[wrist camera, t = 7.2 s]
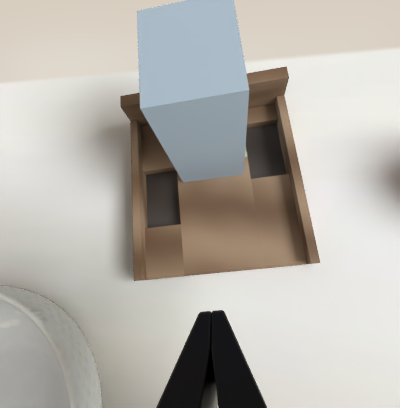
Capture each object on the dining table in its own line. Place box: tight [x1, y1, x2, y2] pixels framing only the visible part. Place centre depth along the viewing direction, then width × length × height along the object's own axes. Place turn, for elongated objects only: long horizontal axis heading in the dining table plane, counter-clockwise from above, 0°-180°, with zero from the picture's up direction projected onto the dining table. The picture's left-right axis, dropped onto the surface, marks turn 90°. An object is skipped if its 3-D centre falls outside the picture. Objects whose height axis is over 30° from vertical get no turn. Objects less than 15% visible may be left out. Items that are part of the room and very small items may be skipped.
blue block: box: [137, 0, 249, 183], centre depth 17 cm, size 6×5×10 cm
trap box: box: [121, 67, 320, 281], centre depth 20 cm, size 14×13×4 cm
